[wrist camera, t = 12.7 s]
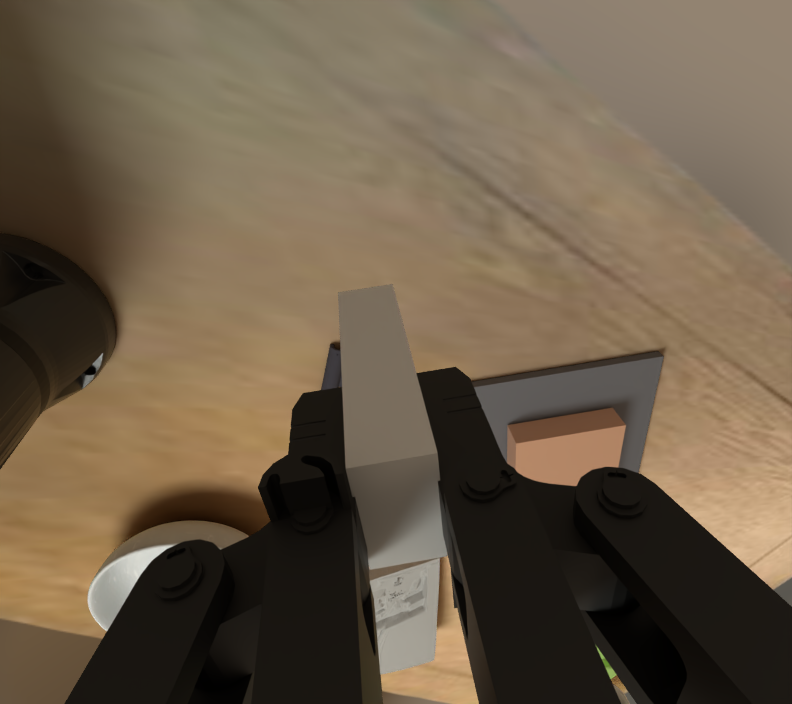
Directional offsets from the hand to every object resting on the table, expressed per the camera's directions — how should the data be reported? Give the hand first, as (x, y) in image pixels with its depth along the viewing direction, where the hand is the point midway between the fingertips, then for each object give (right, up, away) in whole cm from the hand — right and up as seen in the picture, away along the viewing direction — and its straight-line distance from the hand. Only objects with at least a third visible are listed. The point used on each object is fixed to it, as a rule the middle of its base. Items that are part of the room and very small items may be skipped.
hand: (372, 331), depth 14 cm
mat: (+20, -13, +46) cm, 52 cm away
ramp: (0, -38, +60) cm, 71 cm away
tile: (+19, -9, +40) cm, 45 cm away
